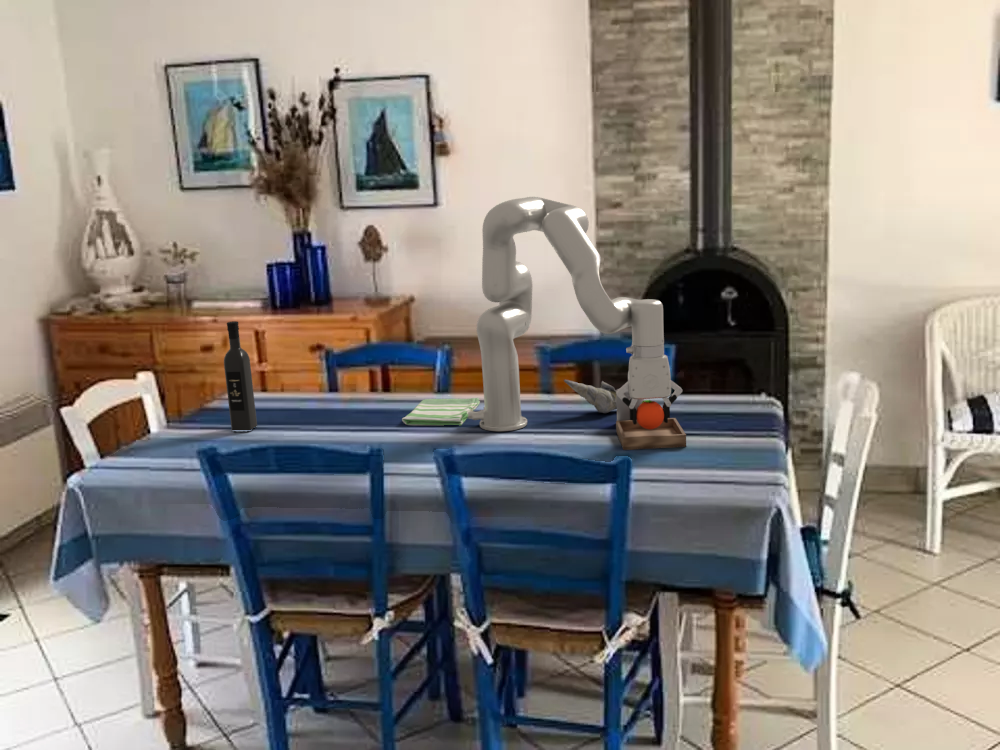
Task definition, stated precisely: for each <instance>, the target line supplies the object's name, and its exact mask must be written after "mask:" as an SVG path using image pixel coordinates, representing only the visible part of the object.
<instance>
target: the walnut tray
mask: <svg viewBox="0 0 1000 750" xmlns="http://www.w3.org/2000/svg"><path fill="white" fill-rule="evenodd" d="M615 429H616V432H615V433H616V435H617V437H618V440H619V443H620V445H621V447H622V449H623V451H629V450H630V451H631V450H632V451H634V450H650V449H653V450H654V449H667V448H668V449H672V448H687V434H686V433H685V432H686V431H684V429H683V428H682V426H681V425H680V423H679V421H678V420H677V418H676V417H670V418H668V423H665V422H664V421H663V422H662V423H661V425H660V426H658V427H657V428H654V429H646V428H643V427H642V426H640V425H639V423H638V422H637V424H635V425H634V424H633V422H632V420H626V421H617V420H616V421H615Z"/></svg>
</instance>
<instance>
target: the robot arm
mask: <svg viewBox="0 0 1000 750" xmlns="http://www.w3.org/2000/svg"><path fill="white" fill-rule="evenodd" d="M588 229H589V218H588V216H587V214H586V213H585V211H584V210H583V209H581V208H580V207H578V206H576V205H572V204H568V203H563V202H559V201H554V200H551V199H548V198H544V197H539V196H527V197H521V198H520V197H519V198H513V199H509V200H506V201H504V202H500V203H499V204H496V205H494V206H493V207H492V208H491V209H490V210H489V211H488V212H487V213H486V216H484V219H483V223H482V229H481V230H482V232H481V233H482V258H481V259H482V262H481V263H482V264H481V265H482V268H481V269H482V271H481V272H482V273H481V276H482V277H481V288H482V294H483V296H484V297H485V298H486V299H487V300H488V301H490V302H491V303H492V302H493V303H499V305H496V306H493V307H491V308H488V309H487V310H485V311H484V312H482V313H481V315H480V316H479V317H478V319H477V322H476V334H477V340H478V343H479V348H480V356H481V358H480V359H481V369H482V370H481V371H482V384H483V402H484V404H483V405H484V407H483V409H480V410H479V411H475V410H473V411H472V412H468V417H467V419H468V420H472V421H477V420H478V421H479V420H480V421H479V427H480V428H481V429H483V430H485V431H491V432H509V431H510V432H511V431H516V430H519V429H523V428H524V427H526V426H527V425H528V419H527V418H526V417H525V416H522V407H521V389H520V388H521V387H520V366H519V355H518V351H517V348H516V346H515V342H514V339H516V338H519V337H521V336H523V335H525V334H526V333H527V332H528V330H529V328H530V326H531V325H532V324H531V323H532V317H533V314H532V311H533V310H532V309H533V278H532V274H531V272H530V271H529V269H528V267H527V266H526V265H525V264H524V263H522V262H520V261H517V260H516V259H517V247H516V243H515V240H514V239H515V238H514V236H515V235H518V234H522V233H527V232H532V231H536V232H537V231H538V232H542V233H543V234H544V236H545V238H546V239H547V240H548V242H549V244H550V245H551V247H552V248H553V250H554V252H555V253H556V254H557V256H558V257H559V259H560V261H561V262H562V264H563V265H564V267H565V269H566V270H567V271H568V273H569V274H570V277H571V282H572V286H573V290H574V294H575V296H576V299H577V302H578V304H579V306H580V308H581V310H582V311H583V313H584V314H585V315H586V317H587V319H588V320H589V321H590V323H591V324H592V326H594V328H595V329H596V330H597V331H599V332H600V333H602V334H606V335H607V334H608V335H610V334H615V333H617V332H619V331H621V330H624V329H627V328H629V327H631V335H632V336H631V339H632V340H631V341H632V342H631V345H630V346H628V347H626V349H625V350H626V354H631V356H630V357H629V360H628V361H629V362H628V367H627V369H628V371H627V381H626V382H625V383H624V384H623V385H622V386H621V387H620V388H618V389H619V390H618V391H617V392H616V394H617V396H618V397H619V398H620V399H621V400H622V401H623V402H624V403H625V404H626V405H627V406H628V407H629V410H630V420H632V422H633V424H634V425H635V424H637V415H636V408H635V404H636V402H637V400H638V399H644V400H650V399H662V401H663V404H662V408H663V411H664V420H663V421H664V422H665V423H668V418H671V411H670V410H671V406H672V404H673V403H674V402H676V400H677V399H678V397H679V396H680V395H681V394H682V393H683V389H682V387H681V386H679V385H678V384H677V383H676V382H674V381H673V380H671V370H670V363H669V358H668V355H666V354H665V345H664V344H665V337H664V336H665V335H664V334H665V333H664V305H663V303H662V302H661V301H660V300H659V299H649V298H647V299H646V298H645V299H637V298H632V297H625V296H619V297H616V298H613V299H611V298H610V296H609V295H608V294H607V292H606V290H605V289H604V286H603V285H602V281H601V279H600V268H601V267H600V266H601V263H602V262H601V259H602V258H601V255H600V253H599V252H598V250H597V248H596V247H595V246H594V244H593V242H591V240H590V239H589V237H588V235H587V234H586V233H587V231H588ZM627 390H628V393H629V395H630V397H631V398H630V400H629V399H628V398H627V397H625V396H624V392H626V391H627ZM672 390H674V392H673V393H672Z"/></svg>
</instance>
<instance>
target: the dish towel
mask: <svg viewBox="0 0 1000 750" xmlns="http://www.w3.org/2000/svg"><path fill="white" fill-rule="evenodd" d="M480 403H481V401H480V398H479V397H472V398H426V399H425V398H424V399H422V400H421V401H420V402H418V404H417V405H416V406H415V407H414V408H413V409H412V411H410V413H408V414H406V416H405V417H402V418H401V421H402V422H403V424H405V425H406V426H444V425H459V427H462V425H463V424H464V423H465V422H466V420H467V419H468V412H472V411H475V410H476V409H477V408H478V407H479V405H480Z"/></svg>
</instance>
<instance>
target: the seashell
mask: <svg viewBox="0 0 1000 750" xmlns="http://www.w3.org/2000/svg"><path fill="white" fill-rule="evenodd" d="M563 382H564V383H565V384H567V385H568V386H569V387H570V388H571V389H572V390H573V391H574V392H575V393H577V394H578V395H579V396H580V397H581V398H583V399H584V400H586V401H587V403H588V404H590V405H592V406H593V407H595V409H596V411H597V412H598V413H602V414H607V413H610V412H612V411H615V410H617V404H616V389H615V387H614V386H612V385H610V384H609V383H607V382H604V381H603V380H602V381H601V382H600V387H595V386H593V385H588V384H584V383H578V382H576V381H573V380H569V379H563Z"/></svg>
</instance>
